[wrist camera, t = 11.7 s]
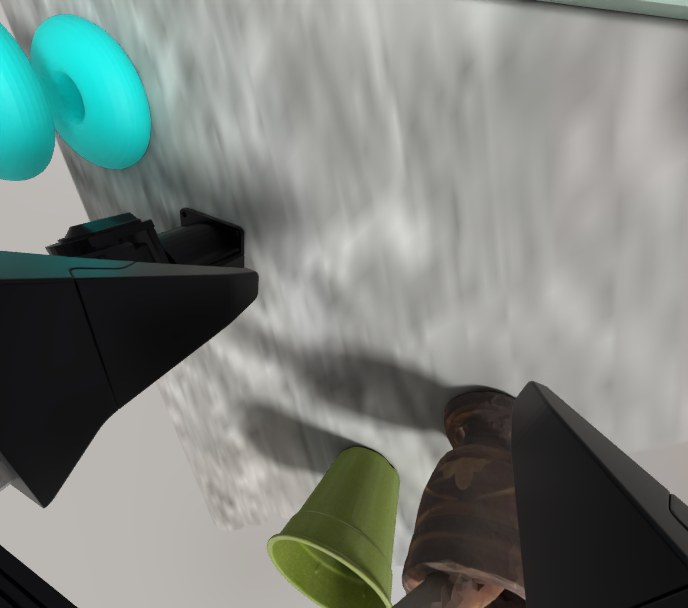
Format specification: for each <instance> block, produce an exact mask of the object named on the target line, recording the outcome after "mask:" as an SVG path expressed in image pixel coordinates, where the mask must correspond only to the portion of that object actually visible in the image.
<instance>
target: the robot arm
mask: <svg viewBox="0 0 688 608" xmlns="http://www.w3.org/2000/svg"><path fill="white" fill-rule="evenodd" d="M180 218H181V227H178V228H175V229H172V230H169V231H166V232H162V233H159V234H157V233H156V231H155V229H154V227H155V226H154V224H153V222H152V219H150V220H145V221H141V220H140V219H137V218H136V217H135V216H134V215H132V214H131V213H125V214H121V215H117V216H112V217H108V218H104V219H100V220H96V221H92V222H88V223H84V224H80V225H76V226H72V227H70V228H69V230H68V232H67V234H66V236H65V238H62V239H59V240H58V242H59V243H56V244H53V245H50V246H47V247H46V250H47V251H48V253H49V254H50V255H42V254H30V253H19V252H8V251H0V491H1V490H3V489H4V488H5V487H7V486H8V485H9V484H11V485H12V486H14V487H15V488H17V489H18V490H20V492H22V493H23V494H25V495H26V496H27V497H29V498H30V499H31V500H33V501H34V502H35V503H37V504H38V505H40V506H41V507H42V508H45V507H47V506H48V505H49V504H50V503H51V502H52V500H53V499H54V498H55V496H56V495H57V493H58V492H59V490H60V488H61V487H62V485H63V484H64V482H65V481H66V479H67V478H68V476H69V475H70V473H71V472H72V470H73V468H74V467H75V466H76V464H77V462H78V461H79V460H80V458H81V456H82V455H83V453H84V452H85V450H86V449H87V447H88V446H89V444H90V443H91V441H92V440H93V438H94V437H95V435H96V434H97V432H98V431H99V429H100V428H101V426H102V425H103V424H104V423H105V422H106V421H107V420H108V418H109V417H111V416H112V415H113V414H114V413H115V412H116V411H118V409H120V408H121V407H123V406H124V405H125V404H127V403H128V402H129V401H131V400H132V399H133V398H134V397H136V396H137V395H138V394H140V393H141V392H142V391H144V390H145V389H146V388H147V387H149V386H150V385H151V384H153V383H154V382H155V381H157V380H158V379H159V378H160V377H162V376H163V375H164V374H166V373H167V372H168V371H170V370H171V369H172V368H173V367H175V366H176V365H177V364H179V363H180V362H181V361H183V360H184V359H185V358H186V357H188V356H189V355H190V354H192V353H193V352H194V351H196V350H197V349H198V348H199V347H201V346H202V345H203V344H205V343H206V342H207V341H209V340H210V339H211V338H212V337H214V336H215V335H216V334H218V333H219V332H220V331H222V330H223V329H224V328H225V327H227V326H228V325H229V324H230V323H231V322H232V321H234V320H235V319H236V318H237V317H238V316H239V315H240V314H241V313H242V312H243V311H244V310H245V309H246V308H247V307H248V306H249V305H250V304H251V303H252V302H253V301H254V300H255V299H256V297H257V295H258V281H259V275H258V273H257V272H256V271H253V270H251V269H248V268H244V231H243V229H242V228H241V227H239V226H236V225H233V224H230V223H228V222H225V221H222V220H219V219H216V218H214V217H211V216H208V215H205V214H203V213H200V212H197V211H194V210H191V209H189V208H183V209H181V210H180ZM237 232H238V233H239V235H238V234H237ZM511 459H512V469H513V479H514V489H515V499H516V509H517V519H518V529H519V539H520V549H521V559H522V569H523V579H524V589H525V600H526V608H688V506H687V505H686V504H685V503H683V502H682V501H681V500H680V499H679V498H677V497H676V496H675V495H674V494H670V492H669V491H668V490H667V489H666V488H665V487H664V486H663V485H661V484H660V483H659V482H658V481H657V480H655V479H654V478H653V477H652V476H651V475H650V474H648V473H647V472H646V471H645V470H644V469H642V468H641V467H640V466H639V465H638V464H636V462H634V461H633V460H632V459H631V458H630V457H629V456H627V455H626V454H625V453H624V452H623V451H621V450H620V449H619V448H618V447H617V446H616V445H614V444H613V443H612V442H611V441H610V440H609V439H607V438H606V437H605V436H604V435H603V434H602V433H600V432H599V431H598V430H597V429H596V428H594V427H593V426H592V425H591V424H590V423H589V422H587V421H586V420H585V419H584V418H583V417H582V416H580V415H579V414H578V413H577V412H576V411H575V410H573V409H572V408H571V407H570V406H569V405H567V404H566V403H565V402H564V401H563V400H562V399H560V398H559V397H558V396H557V395H556V394H555V393H553V392H552V391H551V390H550V389H549V388H548V387H546V386H544V385H542V384H539V383H537V382H534V381H530V382H528V383H527V384H526V386H525V387H524V388H523V390H522V391H521V392H520V394H519V395H518V396H517V398H516V399H515V401H514V403H513V407H512V427H511ZM0 608H77V607H76V606H75V605H74V604H72V603H71V602H70V601H69V600H68V599H66V598H65V597H64V596H63V595H61V594H60V593H59V592H58V591H56V590H55V589H54V588H53V587H52V586H50V585H49V584H48V583H47V582H45V581H44V580H43V579H42V578H40V577H39V576H38V575H37V574H35V573H34V572H33V571H32V570H31V569H29V568H28V567H27V566H26V565H24V564H23V563H22V562H21V561H19V560H18V559H17V558H16V557H14V556H13V555H12V554H11V553H10V552H8V551H7V550H6V549H5V548H3V547H2V546H1V545H0Z"/></svg>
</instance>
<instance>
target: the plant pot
mask: <svg viewBox="0 0 688 608" xmlns="http://www.w3.org/2000/svg"><path fill="white" fill-rule="evenodd" d="M399 485H400V479H399V475H398V473H397V471H396V469H394V468H392V467H391V466H390V464H389V463H388V462H387V460H386V459H385V458H384V457H383V456H381V455H379V454H378V453H376V452H374V451H371V450H369V449H366V448H362V447H352V448H350V449H347V450H343V451H342V452H341V453H340V455H339V456H338V457H337V459H336V460H335V462H334V463H333V464H332V466H331V467H330V468H329V470H328V471H327V473H326V474H325V476H324V477H323V478H322V480H321V481H320V483H319V484H318V485H317V487H316V488H315V490H314V491H313V492H312V494H311V495H310V497H309V498H308V499H307V501H306V502H305V504H304V505H303V506H302V508H301V509H300V510H299V512H298V513H297V514H295V515H294V516H293V517H292V518H291V519H290V521H289V522H288V523H287V525H286V526H285V527H284V529H283V530H282V531H281V533H279V534H276V535H274V536H272V537H271V538H270V539H269V541H268V543H267V552H268V555H269V557H270V559H271V561H272V563H273V564H274V565H275V567H276V568H277V570H278V571H279V572H280V573H281V574H282V575H283V576H284V577H285V578H286V579H287V581H288V582H290V583H291V584H292V585H293V586H294V587H295V588H296V589H297V590H298V591H299V592H301V593H302V594H303V595H305V596H306V597H308V598H309V599H310V600H311V601H313V602H314V603H316V604H317V605H319V606H321V607H322V608H391V607H393V606H392V604H391V589H392V588H391V587H392V570H391V563H392V553H393V543H394V533H395V524H396V514H397V504H398V495H399Z"/></svg>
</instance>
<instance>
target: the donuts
mask: <svg viewBox="0 0 688 608" xmlns="http://www.w3.org/2000/svg"><path fill="white" fill-rule="evenodd" d="M54 128H55V130H56V131H57V133H58V134H59V135H60V136H61V138H62V139H63V140H64V141H65V142H66V143H67V144H68V145H69V146H70V147H71V148H72V149H73V150H74V151H75V152H77V153H78V154H79V155H80V156H82V157H83V158H85V159H86V160H88V161H90V162H92V163H93V164H96V165H98V166H101V167H104V168H108V169H124V168H128V167H130V166H132V165H134V164H136V163H137V162H138V161H139V160H140V159H141V158H142V157H143V155H144V154H145V152H146V150H147V147H148V144H149V141H150V134H151V117H150V109H149V104H148V100H147V96H146V93H145V90H144V87H143V84H142V82H141V80H140V77H139V75H138V73H137V71H136V69H135V68H134V66H133V64H132V62H131V61H130V59H129V58H128V56H127V55H126V53H125V52H124V51H123V49H122V48H121V47H120V46H119V44H118V43H117V42H116V41H115V40H114V39H113V38H112V37H111V36H110V35H109V34H108V33H106V32H105V31H104V30H103V29H102V28H100V27H99V26H97V25H96V24H94V23H92V22H90V21H88V20H86V19H84V18H81V17H78V16H75V15H65V14H62V15H56V16H53V17H50V18H48V19H47V20H45V21H44V22H43V23H42V24H41V25H40V26H39V27H38V29H37V30H36V32H35V34H34V37H33V40H32V43H31V49H30V61H29V59H28V58H27V56H26V55H25V53H24V52H23V50H22V49H21V47H20V46H19V44H18V43H17V42H16V40H15V39H14V38H13V37H12V35H11V34H10V33H9V32H8V31H7V30H6V28H5V27H4V26H3V25H2V24H1V23H0V179H3V180H11V181H20V180H27V179H30V178H33V177H35V176H37V175H38V174H40V173H41V172H43V171H44V169H45V168H46V166H48V164H49V162H50V161H51V158H52V155H53V151H54V146H55V130H54Z"/></svg>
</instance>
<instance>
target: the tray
mask: <svg viewBox="0 0 688 608" xmlns="http://www.w3.org/2000/svg"><path fill="white" fill-rule="evenodd" d="M538 1H546V2H553V3H561V4H569V5H577V6H585V7H592V8H600V9H608V10H616V11H623V12H631V13H639V14H647V15H655V16H662V17H670V18H678V19H686V20H688V0H538Z"/></svg>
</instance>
